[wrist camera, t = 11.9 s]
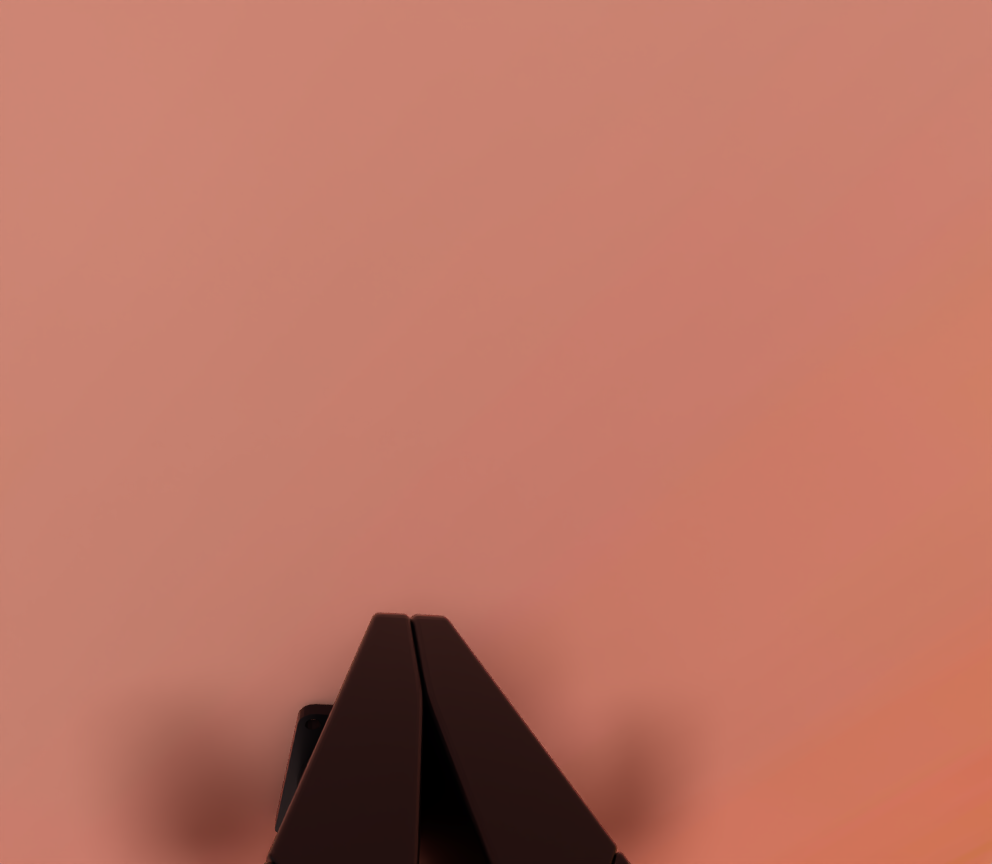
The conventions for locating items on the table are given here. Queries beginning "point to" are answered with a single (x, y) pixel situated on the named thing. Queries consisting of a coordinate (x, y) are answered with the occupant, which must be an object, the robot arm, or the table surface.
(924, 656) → the table surface
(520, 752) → the robot arm
